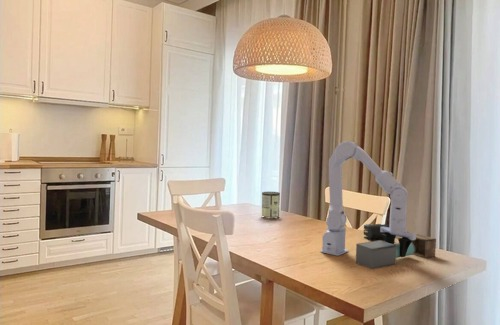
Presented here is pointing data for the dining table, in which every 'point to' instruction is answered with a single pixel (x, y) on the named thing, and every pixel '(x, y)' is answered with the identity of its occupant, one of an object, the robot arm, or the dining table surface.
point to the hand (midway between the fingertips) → (396, 254)
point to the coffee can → (270, 204)
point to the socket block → (424, 246)
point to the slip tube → (409, 252)
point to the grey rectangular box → (375, 254)
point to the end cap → (374, 231)
